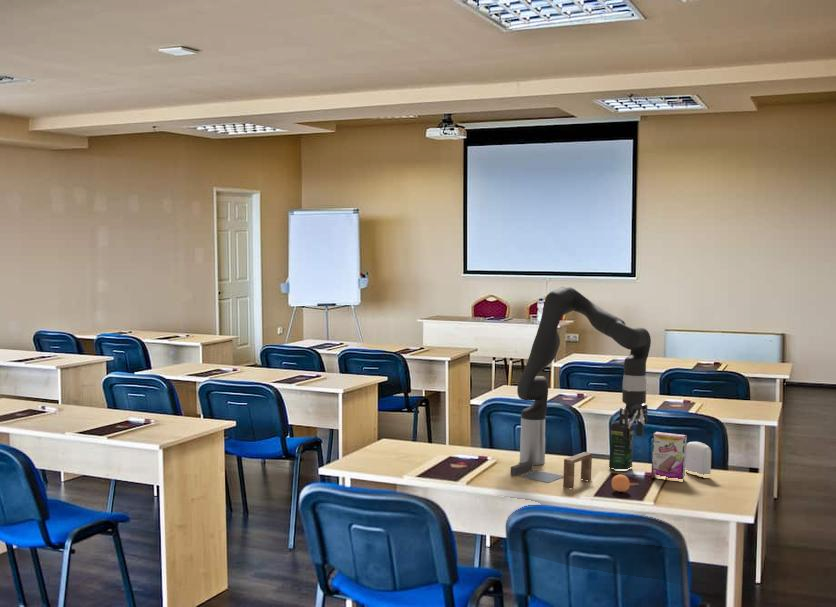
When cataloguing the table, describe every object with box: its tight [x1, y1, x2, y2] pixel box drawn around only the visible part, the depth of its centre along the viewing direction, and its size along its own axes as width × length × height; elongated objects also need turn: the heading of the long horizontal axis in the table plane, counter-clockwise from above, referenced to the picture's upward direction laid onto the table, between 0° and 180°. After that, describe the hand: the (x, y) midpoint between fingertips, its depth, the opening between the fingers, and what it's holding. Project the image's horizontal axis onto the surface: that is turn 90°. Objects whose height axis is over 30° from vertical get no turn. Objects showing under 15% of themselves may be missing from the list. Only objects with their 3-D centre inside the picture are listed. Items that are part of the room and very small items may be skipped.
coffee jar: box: [608, 419, 635, 469], centre depth 321 cm, size 10×8×19 cm
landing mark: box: [518, 470, 564, 484], centre depth 308 cm, size 12×12×1 cm
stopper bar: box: [509, 461, 533, 477], centre depth 313 cm, size 12×2×3 cm, turn 142°
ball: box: [611, 473, 631, 492], centre depth 289 cm, size 6×6×6 cm
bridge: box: [562, 451, 593, 489], centre depth 299 cm, size 3×15×10 cm, turn 142°
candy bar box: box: [651, 431, 688, 479], centre depth 308 cm, size 11×5×16 cm, turn 65°
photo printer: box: [685, 441, 712, 475], centre depth 315 cm, size 10×4×12 cm, turn 26°
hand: (633, 437), depth 283 cm, fingers open, 8 cm apart
